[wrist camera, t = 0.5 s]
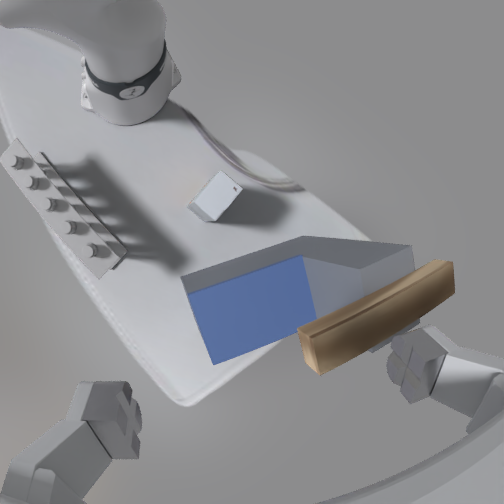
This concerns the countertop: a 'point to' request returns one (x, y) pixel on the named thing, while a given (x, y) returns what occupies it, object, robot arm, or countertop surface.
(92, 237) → the test tube rack
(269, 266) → the l-shaped step block
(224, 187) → the skincare box
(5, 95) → the countertop surface
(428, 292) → the slide box
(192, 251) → the countertop surface
